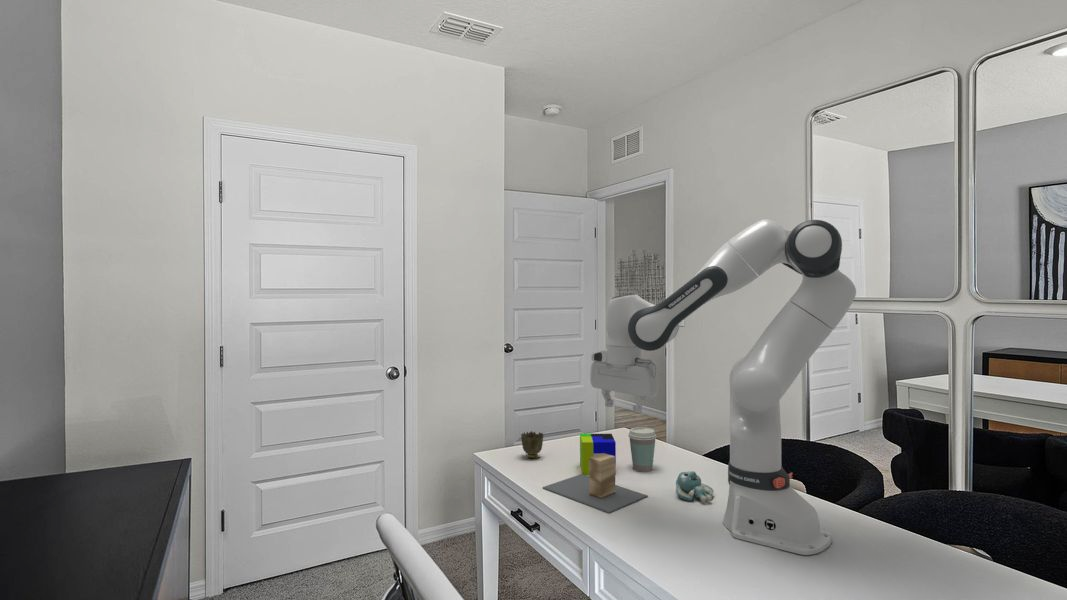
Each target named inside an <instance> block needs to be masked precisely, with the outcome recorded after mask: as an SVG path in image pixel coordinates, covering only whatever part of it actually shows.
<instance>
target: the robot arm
mask: <svg viewBox="0 0 1067 600" xmlns="http://www.w3.org/2000/svg"><path fill="white" fill-rule="evenodd" d="M842 251H843V240H842V236H841V234H840V232H839V230H838V229H837V228H836V227H835V226H834V225H833V224H831V223H829V222H827V221H825V220H821V219H810V220H806V221H803V222H801V223H799V224H797V225H796V226H795V227H794V228H792V230H791V231H790V230H788V229H786V228H784V227H783V225H782V224H780V223H778V222H777V221H775V220H772V219H769V218H768V219H767V218H763V219H760V220H758V221H756V222H754V223H752V224H751V225H749V226H747V227H745V228H744V229H743V230H741V231H740V232H738V233H736V234H735V235H734V236H732V237H731V238H730V239H729V240H728V241H726V242H725V243H724V244H723V245H722V246H720V247H719V248H718V249H717V250H716V251H715V252H714V253H713V254H712V255H711V256H710V258H709V259H708V260H706V262H705V263H704V265H703V266H702V267H701V268H699V270H698V271H697V272H696V273H695V274H694V276H693V277H692V278H691V279H689V281H687V282H686V283H684V284H683V285H682V286H681V287H680V288H678V289H677V290H675V292H673V293H672V294H670V295H669V296H668V297H666V298H665V299H663V300H662V301H661V302H660V303H658V304H653V303H651V302H649V301H647V300H645V299H643V298H642V297H641V296H640V295H638V294H636V293H626V294H620V295H615V296H613V297H611V299H610V300H609V302H608V305H607V308H606V309H607V310H606V320H605V321H606V324H605V325H606V327H605V328H606V332H607V340H606V344H605V345H606V347H605V349H603V350H602V349H601V350H599V351H595V352H593V353H592V354H591V356H590V357H591V358H590V359H591V361H593V362H592V363H591V366H590V375H589V376H590V384H591V387H592V388H596V389H599V390H601V395H602V397H603V400H604V406H605V407H606V408H607V407H608V408H612V407H614V405H615V404H614V399H612V397H611V394H610V393H611V392H617V393H621V394H628V395H632V396H635V399H636V401H637V402H636V404H635V405H632V411H633V413H635V414H641V413H642V412H643V405H644V403H645V402H646V400H647V399H648V398H649V399H650V398H655V397H656V396H657V395H658V394H659V382H658V380H659V379H658V374H657V370H658V369H657V368H658V367H657V365H656V364H655V363H654V362H653V360H651V359H648V358H647V359H645V358H642V357H641V356H642V355H641V350H642V351H650V352H651V351H656V350H659V349H661V348H662V347H664V346H665V345H666V344H668V343H669V342H671V341H672V340H674V339H675V337H676V336H677V334H678V332H679V329H680V327H679V325H680V323H681V322H682V321H684V320H686V319H687V318H688V317H689V316H690V315H692V314H693V313H694V312H695V311H697V310H699V308H700V307H702V306H703V305H705V304H707V303H708V302H710V301H711V300H715V299H717V298H720V297H722V296H726V295H730V294H732V293H735V292H736V291H739V290H740V289H742V288H744V287H746V286H748V285H749V284H751V283H753V281H755V280H756V279H758V278H759V277H760V276H762V275H763V274H764V273H765V272H767V271H768V270H769V269H771V268H772V267H774V266H776V265H778V264H782V265H784V266H786V267H787V268H789V269H790V270H792V271H794V272H796V273H798V274H800V275H802V280H801V284H800V285H799V287H798V288H797V290H796V291H795V292H794V294H793V295H791V297H790V298H789V300H788V301H787V302H786V303H785V305H784V306H783V307H782V308H781V309H780V311H779V312H778V313H777V314H776V316H775V317H773V319H772V320H771V322H770V323H769V324H768V326H766V328H765V329H764V331H763V332H762V334H761V335H760V336H759V338H758V339H757V340H756V342H755V344H754V345H753V346H752V348H751V349H750V350H749V351H748V352H747V354H746V355H745V356H743V357H741V358H740V359H738V360H737V361H736V362H735V363H734V364H733V365H732V368H731V369H730V373H729V461H728V465H727V467H728V469H727V481H728V482H727V483H728V485H729V488H728V497H727V505H726V508H725V513H724V515H723V520H722V524H723V525H724V526H725V528H726V529H728V530H729V531H730V534H731V536H732V537H733V538H735V539H738V540H742V541H747V542H749V543H750V542H751V543H753V544H758V545H762V546H765V547H769V548H772V549H778V550H781V551H784V552H788V553H792V554H798V555H801V556H812V555H816V554H819V553H821V552H823V551H825V550H826V549H827V548H828V547H829V546H830V545H831V543H832V535H831V533H830V532H829V530H826V529H823V528H821V526H820V520H819V516H818V512H817V510H816V508H815V507H814V506H813V505H812V504H810V503H809V501H807V500H806V499H805V498H804V497H802V496H801V494H799V493H798V492H797V491H796V489H794V488H793V487H792V486H791V483H790V482H791V479H793V474H794V473H793V472H790V473H788V472H786V471H785V469H784V468H783V466H782V428H781V427H782V426H781V425H782V424H781V406H780V405H781V404H780V403H781V401H780V400H781V399H782V397H783V396H784V395H785V394H786V392H787V391H788V389H790V387H791V385H792V384H793V383H794V381H795V380H797V377H798V376H799V374H800V373H801V371H802V370H803V368H804V367H805V366H806V364H807V362H808V361H809V359H810V358H811V357H812V356H813V355H814V353H816V352H817V350H818V349H819V348H820V347H821V345H822V344H823V343H824V342H825V340H826V339H827V338H828V337H829V336H830V335H831V333H833V330H835V329H836V327H837V326H838V325H839V324H840V322H841V321H842V320H843V318H844V317H845V315H846V314H847V312H848V311H849V309H850V307H851V306H852V304H853V301H854V299H855V298H856V296H857V289H856V285H855V284H854V282H853V281H852V280H851V278H850V277H848V276H847V275H846V274H844V273H843V272H841V270H839V268H840V264H841V257H842V256H841V255H842Z"/></svg>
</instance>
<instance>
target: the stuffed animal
mask: <svg viewBox="0 0 1067 600" xmlns="http://www.w3.org/2000/svg"><path fill="white" fill-rule="evenodd" d="M675 486H676V487H675V491H676V494H677V495H678V497H679V498H680V499H681V500H684V501H691V502H692V501H693V500H694V496H695V497H696V498H697V499H699V500H700V501H701V502H702V503H706V502H707V501H708V502H709V503H710V502H712V500H713V495H714V489H713V488H712V487H711V486H709V485H706V484H704V483H702V478H701V477H700V476H699V475H698V474H697V473H696V471H694V470H693V471H692V470H691V471H681V472H679V474H678V476H677V478H676V480H675Z"/></svg>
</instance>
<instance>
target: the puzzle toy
mask: <svg viewBox="0 0 1067 600" xmlns="http://www.w3.org/2000/svg"><path fill="white" fill-rule="evenodd" d="M616 447H617V444H616V440H615V438H614V436H613V434H612V433H580V434H579V464H580V471H581V474H583V475H586V476H589V458H590V457H593V456H596V455H600V454H603V453H605V454H608V455H612V456H615V476H617V463H616V462H617V461H616V459H617V456H616V455H617V452H616V451H617V450H616V449H617V448H616Z"/></svg>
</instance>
